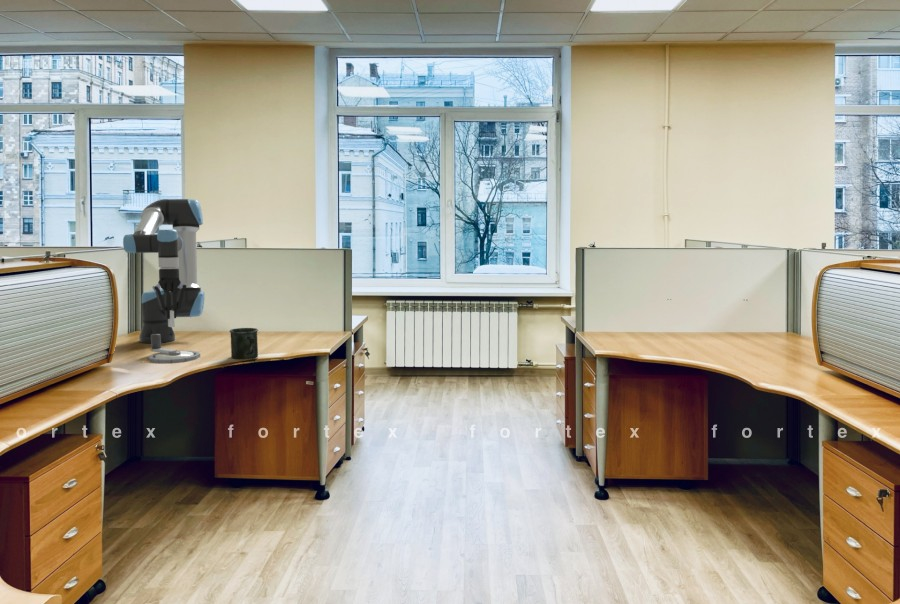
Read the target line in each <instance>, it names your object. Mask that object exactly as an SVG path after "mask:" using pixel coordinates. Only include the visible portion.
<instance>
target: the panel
mask: <svg viewBox="0 0 900 604" xmlns="http://www.w3.org/2000/svg"><path fill="white" fill-rule="evenodd" d="M187 351H188V352H193V353H194V356H191V357H186V358H178V359H157V358H155V355H157V354H160V352H154V353H152V354H150V355H148V360H147V361H141V362H140V364H144V363H145V364H146V363H151V362H152V363H156V364H157V363H158V364H173V363H174V364H175V363H184V362H189V361H194V360H198V359H199V358H201V353H200V352H199V351H195V350H187Z"/></svg>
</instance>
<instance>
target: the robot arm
mask: <svg viewBox="0 0 900 604" xmlns="http://www.w3.org/2000/svg"><path fill="white" fill-rule="evenodd" d="M200 204H201V203H200V202H199V200H197V199H192V198H191V199H189V198H187V199H186V198H181V199H178V198H177V199H175V198H173V199H172V198H169V199H168V198H167V199H166V198H165V199H164V198H163V199H159V200H156V201H153V202H151V203H150V204H149V205H147V206H146V207H145V208H144V209H143V210H142V211H141V215H140V221H139V222H138V225H137V226H136V228H135V230H134V232H133V233H130V234H125V235H124V236H123V239H122V240H123V241H122V243H123V244H122V245H123V250H124V251H125V252H126V254H127V253H130V254H148V253H149V254H152V253H154V254H155V253H158V256H157V257H158V258H157V259H158V268H159V269H158V279H159V280H158V282H157V284H156V285H153V286H152V290H149V291H145V292H143V293H142V295H141V303H140V304H141V314H142V315H141V316H142V326H141V330H140V333H139V338H138V339H139V342H140V343H143V344H151V334H161V344H162V343H167V342H168V343H169V342H172V341H175V340H176V334H175V332H174V329H173V328H175V319H177V318H192V317H193V318H195V317H200V316H201V315H202V313H203V312H204V311H203V310H204V305H205V292H204V291H203V290H201V289H202V287H201V286H200V285H199V284H198V265H197V264H198V263H197V257H198V256H197V232H198V231H199V230H200V226H202V225H204V222H203V221H204V218H203V213H202V208H201V205H200ZM163 225H165V226H172V229H159V227H161V226H163ZM156 232H157V234H156Z"/></svg>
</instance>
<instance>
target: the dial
mask: <svg viewBox="0 0 900 604" xmlns="http://www.w3.org/2000/svg"><path fill="white" fill-rule="evenodd" d="M150 344H151V348H150V352H154V353H160V354H157V355H155V358H157V359H178V358H186V357H191V356H194V353H193V352H188V351H189V350H177V349H170V348H164V347H163V348H162V343H161V334H151V343H150Z"/></svg>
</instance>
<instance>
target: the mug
mask: <svg viewBox="0 0 900 604" xmlns="http://www.w3.org/2000/svg"><path fill="white" fill-rule="evenodd" d="M258 331H259V329H258V328H255V327H254V328H253V327H238V328H237V327H236V328H233V329H232V328H231V329H230V330H229V331H228V332H229V333H230V351H231V352H230V353H231V354H230V355H231V359H233V360H238V361H239V360H240V361H241V363H245V362H246V363H248V362H254V361H257V360H258V359H259V349H258V344H259V343H258ZM242 360H243V361H242Z"/></svg>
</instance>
